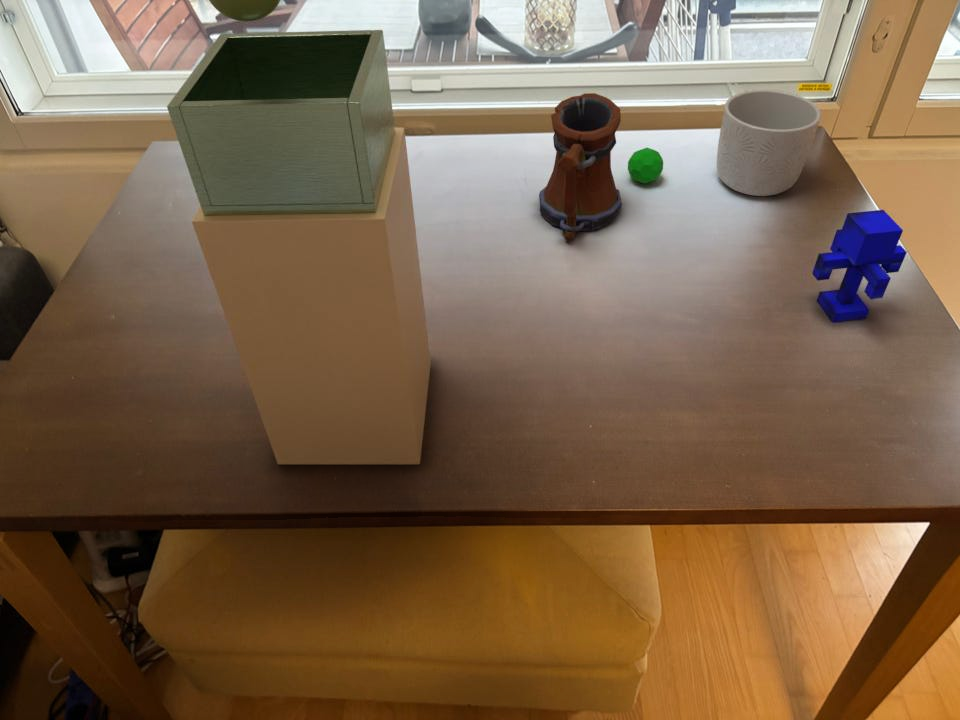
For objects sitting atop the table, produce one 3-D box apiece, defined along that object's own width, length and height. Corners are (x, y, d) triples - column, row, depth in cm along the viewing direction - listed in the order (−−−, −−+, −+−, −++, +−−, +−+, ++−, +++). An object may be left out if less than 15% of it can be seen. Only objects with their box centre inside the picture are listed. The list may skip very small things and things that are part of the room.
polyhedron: (666, 186, 107) (670, 156, 104) (634, 191, 107) (637, 161, 103) (652, 169, 111) (656, 140, 108) (621, 174, 110) (624, 144, 107)
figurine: (884, 304, 87) (923, 216, 79) (863, 340, 83) (901, 251, 75) (819, 281, 91) (850, 195, 82) (796, 314, 86) (826, 226, 78)
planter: (789, 160, 112) (809, 89, 104) (808, 205, 103) (831, 131, 95) (705, 159, 113) (718, 89, 105) (716, 203, 104) (732, 130, 96)
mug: (605, 267, 94) (616, 159, 84) (517, 254, 97) (517, 148, 86) (626, 193, 107) (638, 91, 96) (547, 183, 109) (551, 83, 99)
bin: (277, 464, 73) (152, 111, 48) (305, 365, 83) (214, 30, 58) (419, 464, 72) (368, 107, 47) (430, 364, 82) (393, 25, 57)
